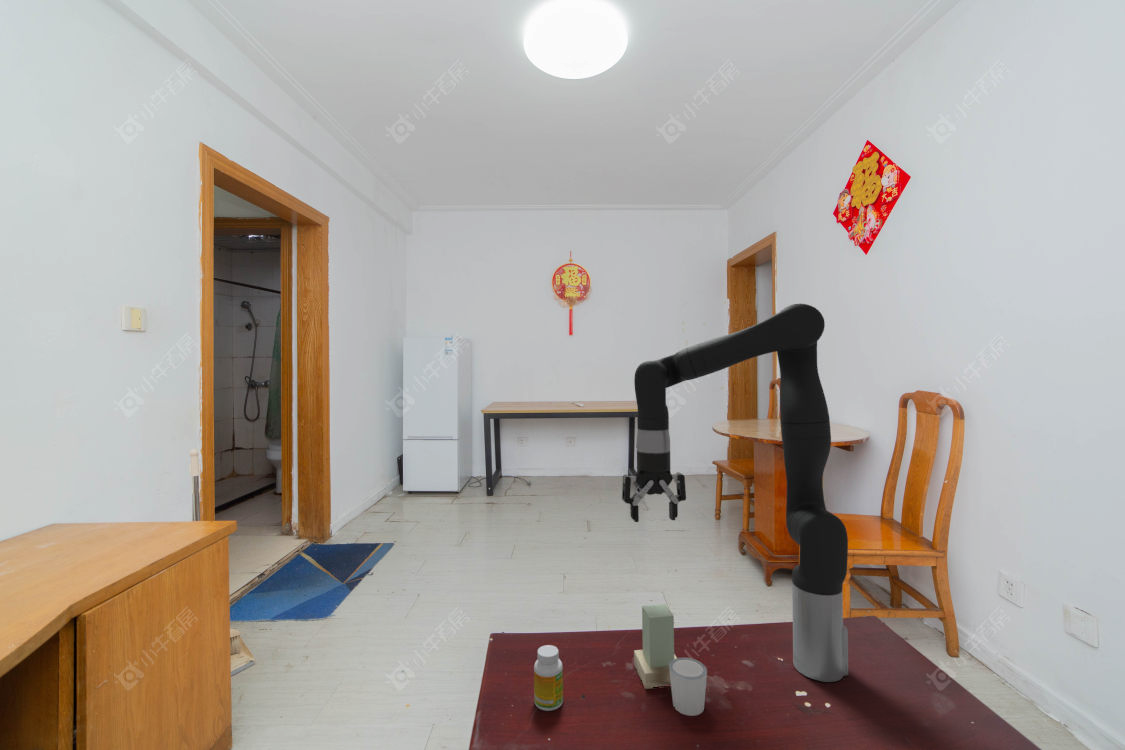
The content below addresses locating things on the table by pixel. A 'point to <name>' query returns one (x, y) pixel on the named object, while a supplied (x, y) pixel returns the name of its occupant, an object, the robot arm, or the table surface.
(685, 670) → the white cup
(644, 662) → the beech block
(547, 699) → the supplement bottle
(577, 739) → the table surface
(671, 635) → the sage brick
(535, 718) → the table surface
